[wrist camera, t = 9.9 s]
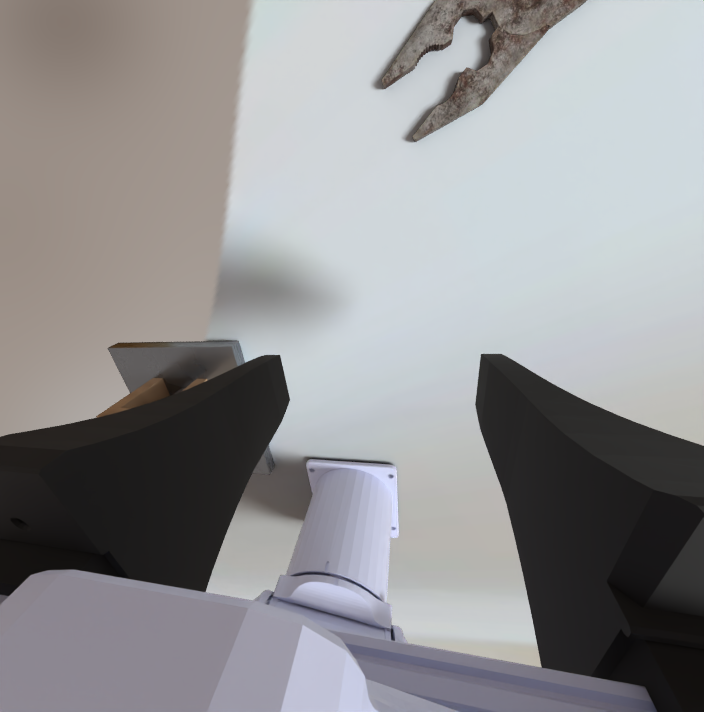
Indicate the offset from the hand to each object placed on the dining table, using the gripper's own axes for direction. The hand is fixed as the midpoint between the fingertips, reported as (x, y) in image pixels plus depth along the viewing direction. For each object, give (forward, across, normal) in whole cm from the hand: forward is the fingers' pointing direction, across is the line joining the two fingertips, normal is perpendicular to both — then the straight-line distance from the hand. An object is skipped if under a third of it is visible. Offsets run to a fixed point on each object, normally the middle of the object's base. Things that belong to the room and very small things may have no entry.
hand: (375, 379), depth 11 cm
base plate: (+9, +17, +9) cm, 21 cm away
